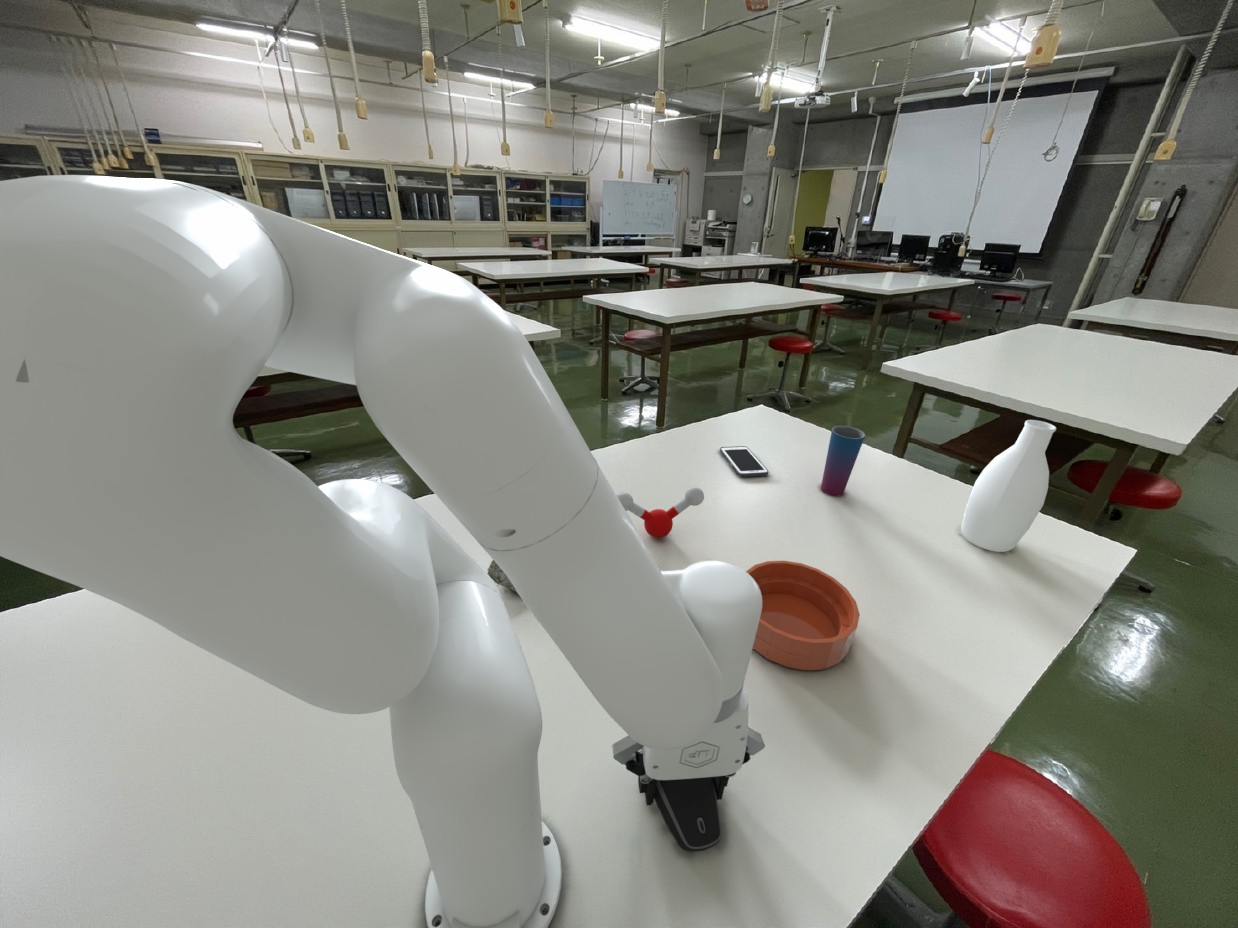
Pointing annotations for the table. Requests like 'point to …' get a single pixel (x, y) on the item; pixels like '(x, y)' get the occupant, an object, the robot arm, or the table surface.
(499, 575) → the rock sample
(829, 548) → the table surface
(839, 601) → the bowl
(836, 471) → the cup
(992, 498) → the bottle
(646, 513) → the molecular model
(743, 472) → the cell phone
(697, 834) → the computer mouse
